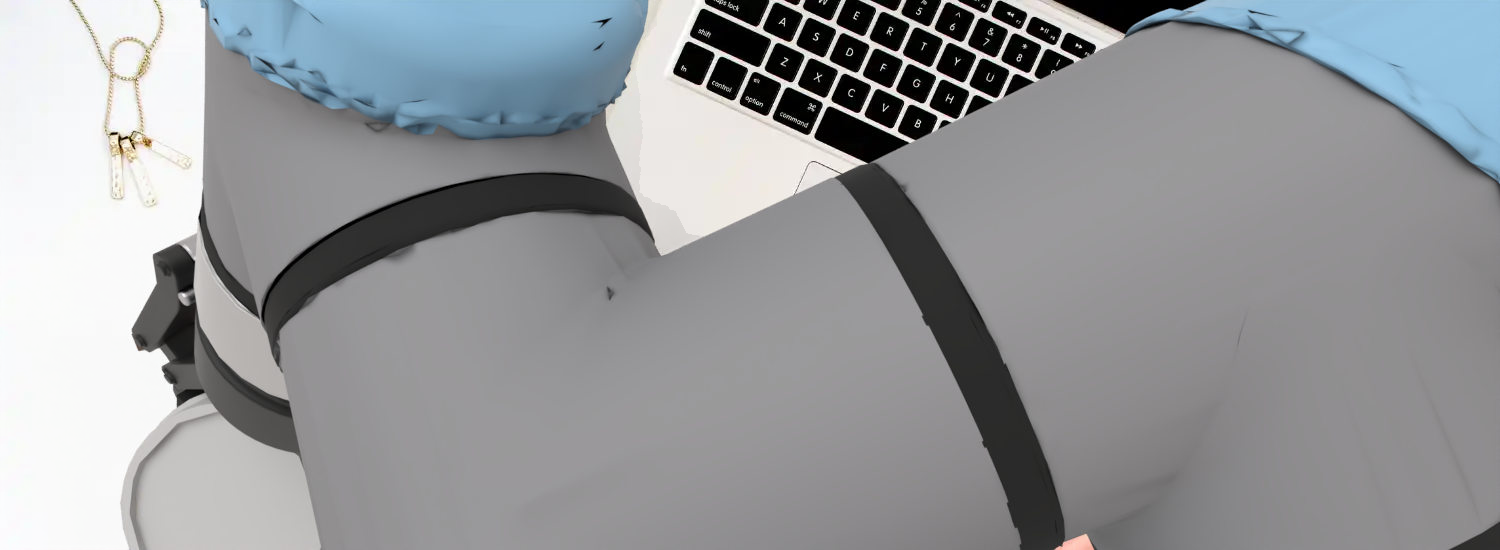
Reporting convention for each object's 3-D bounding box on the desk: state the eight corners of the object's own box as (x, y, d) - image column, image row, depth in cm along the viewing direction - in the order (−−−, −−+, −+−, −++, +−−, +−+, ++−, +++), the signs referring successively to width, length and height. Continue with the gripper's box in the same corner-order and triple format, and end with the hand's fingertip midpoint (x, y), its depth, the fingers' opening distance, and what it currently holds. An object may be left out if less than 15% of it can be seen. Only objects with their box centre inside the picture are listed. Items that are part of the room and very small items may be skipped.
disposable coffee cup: (425, 337, 46) (302, 363, 34) (473, 505, 46) (367, 591, 34) (259, 384, 46) (80, 426, 34) (307, 551, 47) (145, 652, 35)
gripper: (669, 480, 28) (489, 610, 45) (212, 3, 28) (199, 306, 45) (504, 664, 23) (369, 735, 39) (-51, 79, 23) (42, 391, 40)
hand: (279, 507), depth 42 cm, fingers closed on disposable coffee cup, 9 cm apart
